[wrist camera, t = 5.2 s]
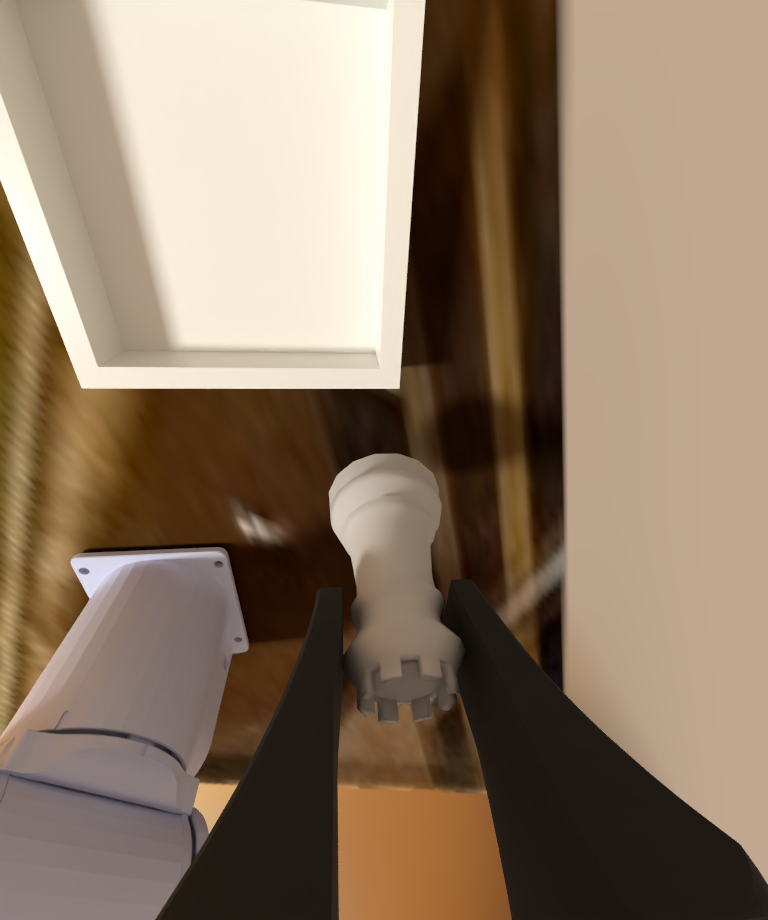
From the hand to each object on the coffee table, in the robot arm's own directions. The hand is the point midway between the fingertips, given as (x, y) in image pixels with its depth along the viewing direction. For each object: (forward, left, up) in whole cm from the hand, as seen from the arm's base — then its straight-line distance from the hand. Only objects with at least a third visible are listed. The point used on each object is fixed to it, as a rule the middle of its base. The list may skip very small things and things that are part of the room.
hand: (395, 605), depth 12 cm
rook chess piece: (0, 0, -6) cm, 6 cm away
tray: (+10, +5, -9) cm, 15 cm away
